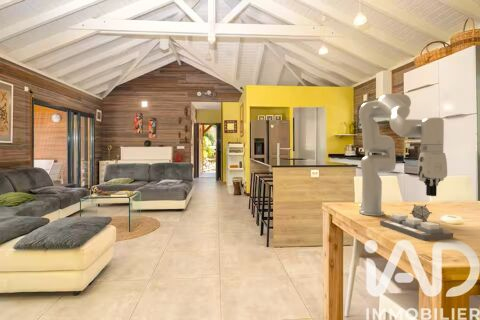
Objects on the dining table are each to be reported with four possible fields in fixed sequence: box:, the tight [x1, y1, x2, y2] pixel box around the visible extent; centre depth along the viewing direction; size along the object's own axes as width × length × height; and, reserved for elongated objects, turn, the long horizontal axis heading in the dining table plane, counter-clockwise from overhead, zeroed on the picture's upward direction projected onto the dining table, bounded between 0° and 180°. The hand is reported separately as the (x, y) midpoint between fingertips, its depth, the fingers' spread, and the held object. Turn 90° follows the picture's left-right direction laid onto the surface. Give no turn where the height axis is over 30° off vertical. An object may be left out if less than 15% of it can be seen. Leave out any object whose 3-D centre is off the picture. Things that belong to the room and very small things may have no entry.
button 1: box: [391, 213, 409, 220], centre depth 133 cm, size 4×4×2 cm
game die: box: [409, 203, 433, 222], centre depth 142 cm, size 9×8×10 cm
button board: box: [379, 216, 454, 241], centre depth 125 cm, size 24×14×4 cm, turn 13°
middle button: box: [406, 216, 424, 225], centre depth 125 cm, size 4×4×2 cm
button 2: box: [421, 221, 440, 230], centre depth 117 cm, size 4×4×2 cm
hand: (431, 195), depth 116 cm, fingers closed
